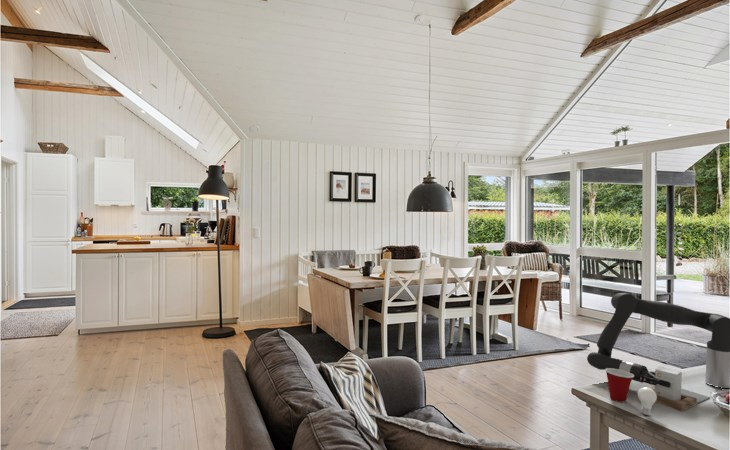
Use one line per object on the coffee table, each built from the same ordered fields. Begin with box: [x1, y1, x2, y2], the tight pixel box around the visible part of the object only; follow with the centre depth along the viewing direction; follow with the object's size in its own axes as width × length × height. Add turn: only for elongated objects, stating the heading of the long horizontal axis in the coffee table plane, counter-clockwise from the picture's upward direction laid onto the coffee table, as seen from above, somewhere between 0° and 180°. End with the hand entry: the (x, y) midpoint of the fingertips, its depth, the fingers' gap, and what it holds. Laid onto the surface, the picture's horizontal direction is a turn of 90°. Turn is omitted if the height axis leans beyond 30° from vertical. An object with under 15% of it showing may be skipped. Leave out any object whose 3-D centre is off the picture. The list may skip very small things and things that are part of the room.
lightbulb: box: [637, 386, 657, 416], centre depth 173 cm, size 6×6×11 cm
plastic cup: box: [605, 368, 634, 403], centre depth 188 cm, size 11×11×12 cm
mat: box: [681, 388, 711, 405], centre depth 194 cm, size 12×12×1 cm
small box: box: [654, 366, 683, 401], centre depth 188 cm, size 8×6×13 cm
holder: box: [649, 385, 697, 412], centre depth 188 cm, size 14×16×2 cm
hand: (674, 383), depth 186 cm, fingers closed on small box, 6 cm apart
